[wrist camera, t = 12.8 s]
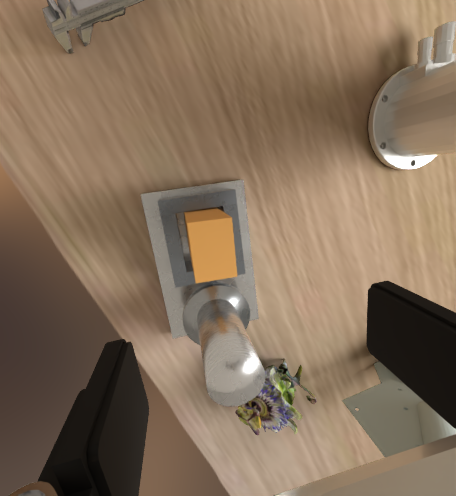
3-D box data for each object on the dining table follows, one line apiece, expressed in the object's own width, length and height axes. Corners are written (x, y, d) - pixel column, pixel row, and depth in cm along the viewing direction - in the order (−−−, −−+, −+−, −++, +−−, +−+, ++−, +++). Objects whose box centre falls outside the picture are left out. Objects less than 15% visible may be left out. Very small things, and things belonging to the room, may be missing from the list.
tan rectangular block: (183, 208, 30) (187, 223, 19) (212, 205, 30) (232, 217, 20) (189, 249, 31) (195, 283, 21) (217, 245, 32) (237, 276, 21)
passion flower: (231, 352, 44) (215, 365, 33) (290, 333, 43) (295, 340, 32) (252, 423, 41) (242, 466, 29) (317, 404, 40) (333, 441, 28)
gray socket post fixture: (142, 193, 30) (109, 205, 15) (240, 179, 32) (296, 177, 17) (172, 332, 35) (170, 441, 20) (255, 313, 37) (308, 400, 22)
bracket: (326, 392, 44) (443, 554, 25) (319, 359, 41) (441, 510, 22) (460, 334, 47) (656, 439, 28) (460, 302, 44) (672, 391, 26)
